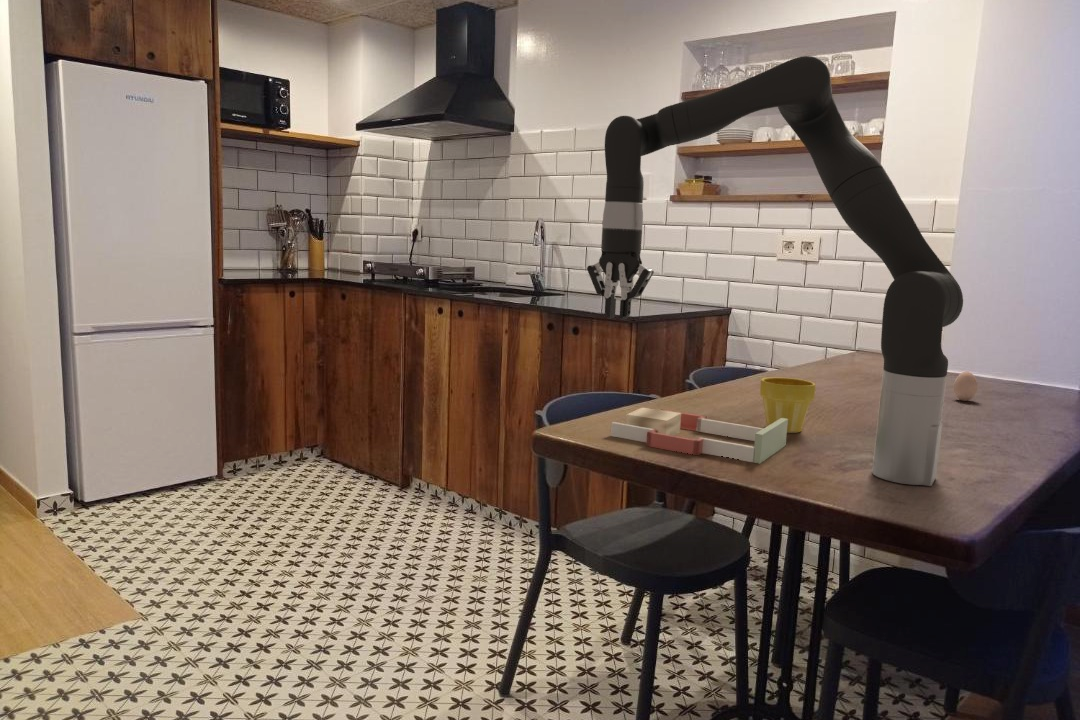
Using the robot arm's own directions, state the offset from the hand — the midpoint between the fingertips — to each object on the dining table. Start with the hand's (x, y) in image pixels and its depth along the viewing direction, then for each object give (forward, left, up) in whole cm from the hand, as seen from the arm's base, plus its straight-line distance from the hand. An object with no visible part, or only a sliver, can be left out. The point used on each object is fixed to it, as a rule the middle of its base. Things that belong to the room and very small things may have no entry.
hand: (617, 318), depth 156 cm
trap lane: (-18, 0, -21) cm, 28 cm away
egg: (-55, -85, -21) cm, 103 cm away
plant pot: (-28, -21, -21) cm, 41 cm away
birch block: (-9, 0, -21) cm, 23 cm away
